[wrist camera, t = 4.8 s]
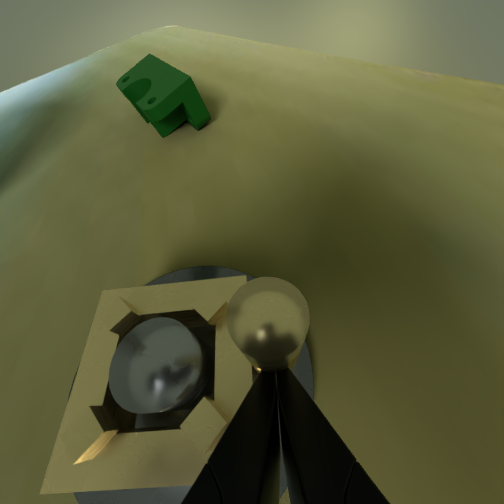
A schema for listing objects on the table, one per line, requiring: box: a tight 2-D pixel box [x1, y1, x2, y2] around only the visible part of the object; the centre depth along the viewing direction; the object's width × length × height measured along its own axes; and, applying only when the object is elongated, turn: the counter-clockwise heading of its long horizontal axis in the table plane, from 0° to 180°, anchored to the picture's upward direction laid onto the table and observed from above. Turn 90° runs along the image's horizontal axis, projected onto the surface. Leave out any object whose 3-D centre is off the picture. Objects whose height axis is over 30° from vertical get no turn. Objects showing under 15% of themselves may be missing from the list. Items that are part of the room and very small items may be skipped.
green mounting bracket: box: [116, 54, 211, 138], centre depth 29 cm, size 12×6×9 cm, turn 31°
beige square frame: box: [40, 275, 310, 494], centre depth 9 cm, size 8×10×8 cm
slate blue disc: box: [68, 266, 314, 504], centre depth 12 cm, size 14×14×6 cm
